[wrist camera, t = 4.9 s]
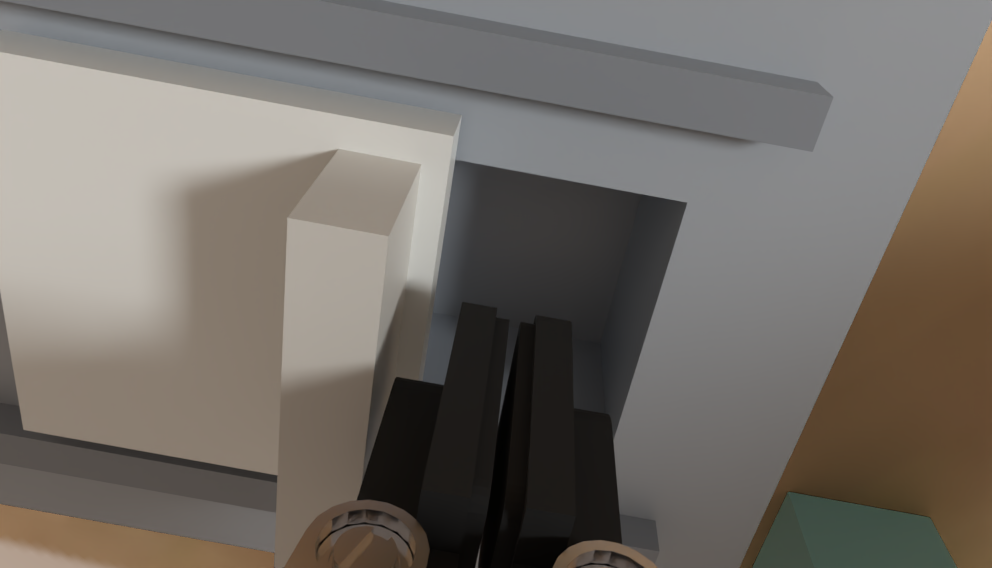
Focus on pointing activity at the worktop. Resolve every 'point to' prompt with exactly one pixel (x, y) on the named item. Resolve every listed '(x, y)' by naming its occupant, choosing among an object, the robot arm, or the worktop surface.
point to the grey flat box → (587, 219)
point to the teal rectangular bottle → (849, 537)
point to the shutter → (215, 262)
